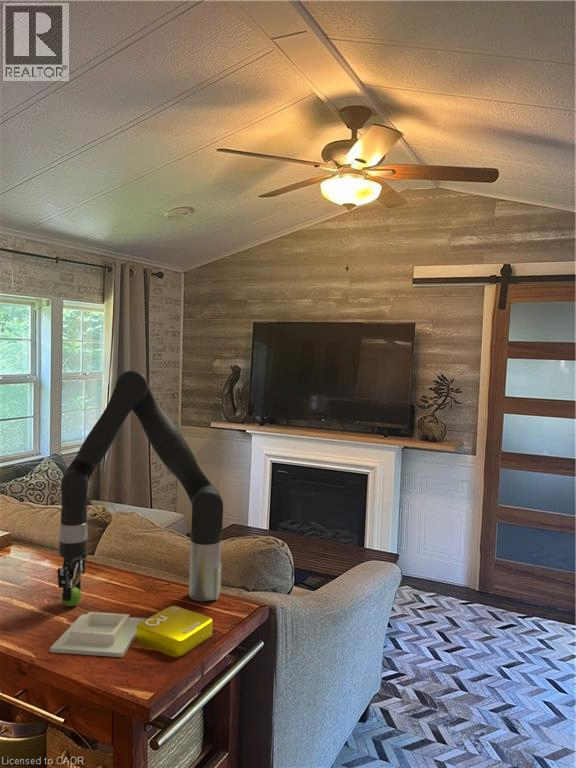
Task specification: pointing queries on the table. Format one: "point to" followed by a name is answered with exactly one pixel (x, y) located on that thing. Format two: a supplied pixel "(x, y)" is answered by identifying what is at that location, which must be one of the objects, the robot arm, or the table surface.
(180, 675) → the table surface
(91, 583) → the table surface
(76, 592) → the snail figurine
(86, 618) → the collar stand
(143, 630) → the element tile
